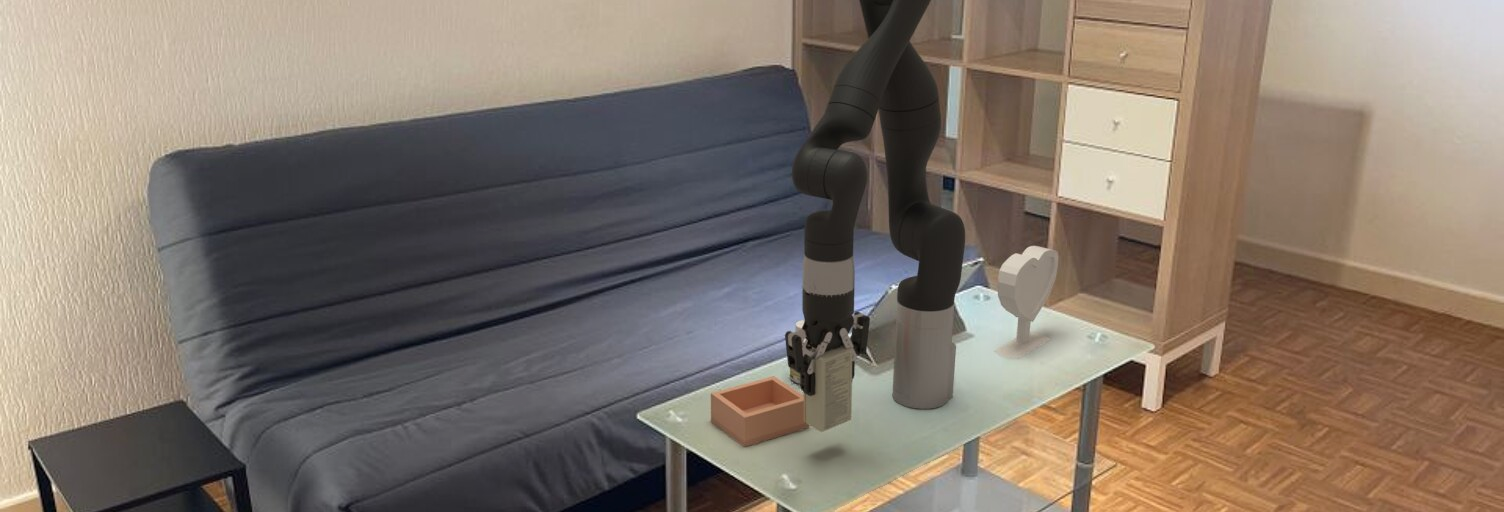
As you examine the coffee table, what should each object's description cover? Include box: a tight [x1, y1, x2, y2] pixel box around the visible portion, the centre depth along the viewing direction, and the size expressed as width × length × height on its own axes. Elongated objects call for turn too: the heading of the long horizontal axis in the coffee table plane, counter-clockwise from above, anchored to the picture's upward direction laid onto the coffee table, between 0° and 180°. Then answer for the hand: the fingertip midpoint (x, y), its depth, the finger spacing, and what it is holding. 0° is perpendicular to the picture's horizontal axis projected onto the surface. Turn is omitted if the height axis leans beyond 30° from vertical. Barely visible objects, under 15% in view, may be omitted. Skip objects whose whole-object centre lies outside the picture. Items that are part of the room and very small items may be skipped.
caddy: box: [710, 375, 810, 448], centre depth 196 cm, size 12×10×5 cm
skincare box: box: [803, 345, 853, 433], centre depth 185 cm, size 6×4×12 cm
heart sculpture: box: [993, 245, 1059, 360], centre depth 224 cm, size 16×5×18 cm, turn 139°
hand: (827, 387), depth 185 cm, fingers closed on skincare box, 6 cm apart
